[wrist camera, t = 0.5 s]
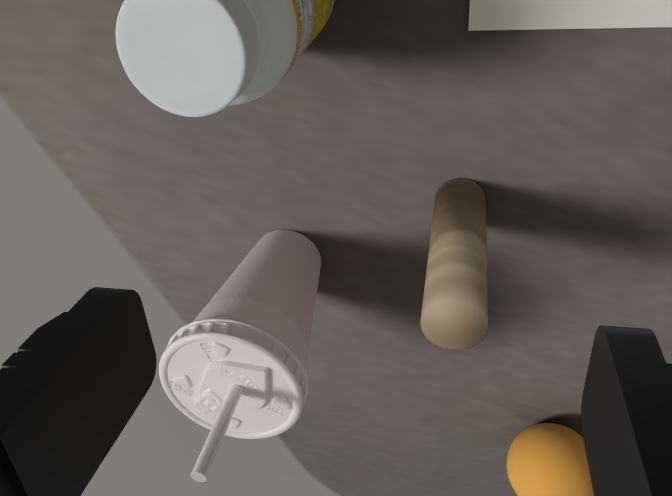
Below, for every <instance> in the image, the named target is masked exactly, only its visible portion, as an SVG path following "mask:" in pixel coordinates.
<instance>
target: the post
mask: <svg viewBox="0 0 672 496" xmlns="http://www.w3.org/2000/svg"><path fill="white" fill-rule="evenodd" d="M420 325H421V329H422V332H423V334H424V335H425V336H426V338H427V339H428V340H429V341H431V342H432V343H434V344H435V345H437V346H440V347H442V348H446V349H452V350H461V349H467V348H470V347H473V346H475V345H477V344H478V343H480V342H481V341H482V340H483V339H484V337H485V336H486V334H487V331H488V282H487V222H486V195H485V193H484V190H483V189H482V188H481V187H480V186H479V185H478V184H477V183H475V182H474V181H471V180H468V179H462V178H461V179H453V180H450V181H448V182H446V183H445V184H443V185H442V186H441V187H440V188H439V190H438V191H437V193H436V197H435V205H434V213H433V221H432V230H431V238H430V246H429V254H428V263H427V271H426V279H425V288H424V296H423V304H422V313H421V321H420Z"/></svg>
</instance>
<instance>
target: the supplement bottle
mask: <svg viewBox="0 0 672 496" xmlns="http://www.w3.org/2000/svg"><path fill="white" fill-rule="evenodd" d="M333 4H334V0H124V2H123V4H122V6H121V9H120V11H119V14H118V18H117V22H116V43H117V49H118V54H119V57H120V59H121V62H122V65H123V67H124V69H125V71H126V73H127V75H128V77H129V78H130V80H131V81H132V83H133V84H134V85H135V86H136V88H137V89H138V90H139V91H140V92H141V93H142V94H143V95H144V96H145V97H146V98H147V99H148V100H150V101H151V102H152V103H154V104H155V105H157V106H158V107H160V108H162V109H164V110H166V111H168V112H171V113H173V114H177V115H180V116H186V117H202V116H207V115H211V114H214V113H216V112H218V111H221V110H222V109H224V108H225V107H227V106H230V105H239V104H244V103H247V102H250V101H253V100H255V99H258V98H260V97H261V96H263V95H265V94H266V93H268V92H269V91H270V90H271V89H272V88H274V87H275V86H276V85H277V84H278V83H279V82H280V81H281V79H282V78H283V77H284V76H285V75H286V73H287V72H288V71H289V70H290V68H291V67H292V66H293V65H294V64H295V62H296V61H297V60H298V59H299V57H300V56H301V55H302V53H303V52H304V51H305V50H306V48H307V47H308V46H309V45H310V44H311V42H312V41H313V40H314V39H315V38H316V36H317V35H318V34H319V33H320V31H321V30H322V29H323V27H324V26H325V24H326V23H327V21H328V19H329V17H330V14H331V11H332V8H333Z"/></svg>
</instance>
